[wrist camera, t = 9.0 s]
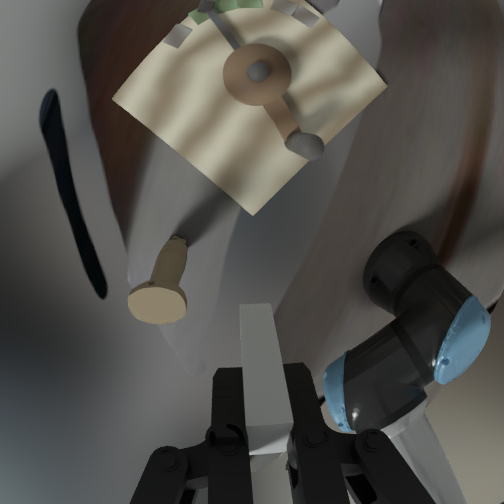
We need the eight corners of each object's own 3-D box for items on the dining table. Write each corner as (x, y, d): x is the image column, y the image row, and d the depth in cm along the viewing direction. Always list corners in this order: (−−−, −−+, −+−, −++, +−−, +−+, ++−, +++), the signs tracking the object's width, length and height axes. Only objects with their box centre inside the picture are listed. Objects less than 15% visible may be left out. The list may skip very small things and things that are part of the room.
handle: (154, 232, 39) (122, 289, 26) (195, 227, 39) (180, 284, 26) (161, 260, 41) (136, 325, 28) (200, 256, 42) (190, 322, 28)
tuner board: (383, 87, 31) (388, 86, 30) (252, 213, 39) (253, 216, 38) (254, -31, 22) (255, -36, 21) (113, 98, 30) (109, 98, 28)
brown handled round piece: (174, 17, 24) (161, -7, 17) (228, -10, 23) (229, -37, 16) (273, 164, 35) (284, 176, 28) (324, 137, 33) (348, 142, 26)
